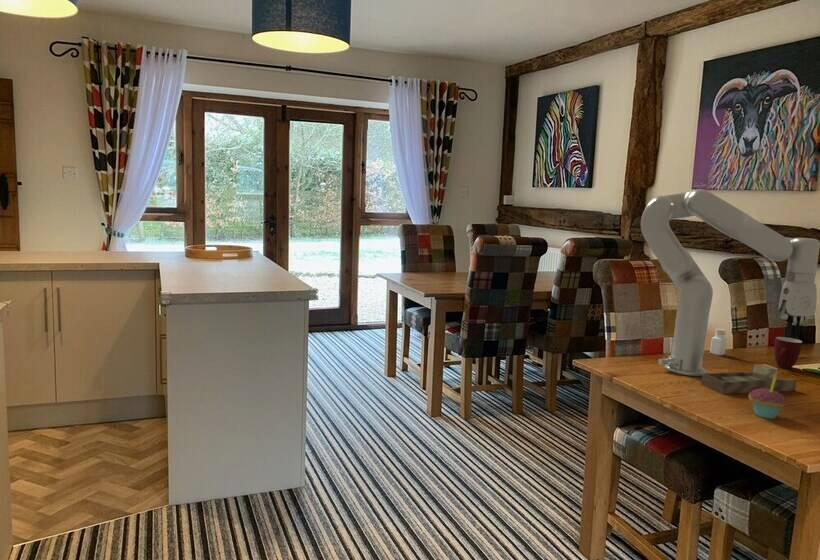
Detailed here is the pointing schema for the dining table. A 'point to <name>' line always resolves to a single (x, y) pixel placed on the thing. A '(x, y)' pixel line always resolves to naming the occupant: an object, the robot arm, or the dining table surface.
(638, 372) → the dining table surface
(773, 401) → the cupcake
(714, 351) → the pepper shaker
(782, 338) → the mug
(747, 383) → the tray
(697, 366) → the robot arm
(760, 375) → the birch block
